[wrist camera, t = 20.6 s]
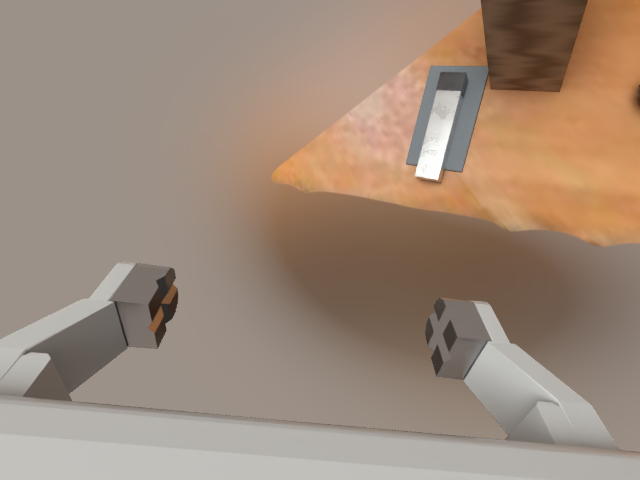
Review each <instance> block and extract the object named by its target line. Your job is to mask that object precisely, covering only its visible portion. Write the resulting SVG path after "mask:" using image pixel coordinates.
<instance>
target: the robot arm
mask: <svg viewBox="0 0 640 480" xmlns="http://www.w3.org/2000/svg"><path fill="white" fill-rule="evenodd" d="M175 279H176V276H175V270H174V269H173V268H170V267H163V266H156V265H147V264H140V263H138V264H137V263H131V262H123V261H122V262H119V263H117V264H116V265H115V267H114V268H113V269H112V270H111V272H110V273H109V274H108V275H107V277H106V278H105V279H104V281H103V282H102V283H101V284H100V285H99V287H98V288H97V289H96V291H95V292H94V293H93V294H92V295H91V297H90V298H89V299H81V300H79V301H77V302H75V303H73V304H71V305H69V306H67V307H65V308H63V309H61V310H59V311H57V312H55V313H53V314H51V315H49V316H47V317H45V318H43V319H41V320H39V321H37V322H35V323H33V324H31V325H29V326H26V327H24V328H22V329H20V330H18V331H16V332H14V333H12V334H10V335H8V336H6V337H4V338H2V339H0V480H640V452H634V451H633V452H632V451H622V450H620V449H619V448H618V446H617V444H616V443H615V441H614V440H613V438H612V437H611V435H610V433H609V432H608V430H607V429H606V427H605V426H604V424H603V422H602V421H601V419H600V418H599V416H598V415H597V413H596V411H595V410H594V408H593V407H592V405H591V404H589V403H588V402H587V401H586V400H584V399H583V398H582V397H581V396H579V395H578V394H577V393H576V392H574V391H573V390H572V389H570V388H569V387H568V386H567V385H566V384H564V383H563V382H562V381H561V380H559V379H558V378H557V377H556V376H554V375H553V374H552V373H551V372H549V371H548V370H547V369H546V368H544V367H543V366H542V365H541V364H539V363H538V362H537V361H536V360H534V359H533V358H532V357H531V356H529V355H528V354H527V353H525V352H524V351H523V350H522V349H521V348H519V347H518V346H517V345H515V344H510V342H509V340H508V338H507V336H506V334H505V332H504V330H503V329H502V327H501V325H500V323H499V321H498V319H497V317H496V315H495V314H494V311H493V310H492V308H491V306H490V305H489V304H488V303H487V302H480V301H467V300H458V299H449V298H438V299H437V300H436V302H435V304H434V309H435V313H433V314H432V315H430V316H429V318H428V320H427V323H426V330H425V335H426V341H427V345H428V346H429V347H430V348H431V349H432V350H433V351H434V353H433V355H432V357H431V359H432V363H433V366H434V370H435V373H436V376H437V377H445V378H453V379H461V380H464V383H465V384H466V385H467V386H468V387H469V389H470V390H471V391H472V392H473V393H474V394H475V396H476V397H477V398H478V399H479V401H480V402H481V403H482V404H483V405H484V407H485V408H486V409H487V410H488V411H489V412H490V414H491V415H492V416H493V417H494V418H495V420H496V421H497V422H498V423H499V424H500V426H501V427H502V428H503V429H504V430H505V432H506V433H507V434H508V437H507V438H506V439H505V440H499V439H488V438H477V437H466V436H454V435H443V434H432V433H421V432H408V431H399V430H387V429H375V428H365V427H354V426H342V425H331V424H320V423H308V422H297V421H286V420H275V419H264V418H252V417H242V416H231V415H219V414H209V413H197V412H187V411H175V410H163V409H154V408H142V407H130V406H120V405H109V404H98V403H86V402H75V401H72V400H71V398H70V396H69V394H70V393H71V392H72V391H73V390H75V389H76V388H77V387H79V386H80V385H81V384H82V383H84V382H85V381H86V380H88V379H89V378H90V377H91V376H93V375H94V374H95V373H96V372H98V371H99V370H100V369H102V368H103V367H104V366H105V365H107V364H108V363H109V362H110V361H112V360H113V359H114V358H116V357H117V356H118V355H120V353H122V352H123V351H125V350H126V349H127V347H139V348H154V349H158V347H159V345H160V343H161V341H162V339H163V337H164V335H165V332H166V325H165V323H167V322H168V321H170V320H171V319H172V318H173V316H174V314H175V312H176V308H177V304H178V289H177V288H176V287H175V286H174V285H173V282H174V281H175Z"/></svg>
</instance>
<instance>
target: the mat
mask: <svg viewBox="0 0 640 480" xmlns="http://www.w3.org/2000/svg"><path fill="white" fill-rule="evenodd" d="M440 72H466V73H467V78H468V84H467V87H466V91H465V95H464V98H463V100H462V104H461V108H460V112H459V115H458V119H457V123H456V127H455V131H454V134H453V138H452V142H451V146H450V150H449V153H448V157H447V161H446V165H445V169H444V170H450V171H457V172H462V170H463V167H464V163H465V159H466V156H467V152H468V148H469V144H470V141H471V137H472V133H473V129H474V126H475V122H476V118H477V115H478V111H479V107H480V103H481V100H482V96H483V92H484V89H485V85H486V81H487V77H488V74H489V69H488V67H486V66H431V67H430V71H429V75H428V79H427V83H426V87H425V90H424V94H423V98H422V102H421V106H420V110H419V114H418V118H417V122H416V126H415V130H414V134H413V138H412V141H411V145H410V149H409V153H408V157H407V161H406V164H409V165H416V166H417V165H418V161H419V158H420V154H421V150H422V146H423V142H424V138H425V134H426V130H427V126H428V123H429V119H430V115H431V111H432V107H433V103H434V99H435V95H436V91H437V90H436V88H437V84H438V80H439V76H440Z"/></svg>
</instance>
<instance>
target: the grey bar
mask: <svg viewBox="0 0 640 480" xmlns="http://www.w3.org/2000/svg"><path fill="white" fill-rule="evenodd" d="M467 84H468V78H467V73H466V72H440V76H439V80H438V84H437V88H436V90H437V91H436V95H435V99H434V103H433V107H432V111H431V115H430V119H429V123H428V126H427V130H426V134H425V138H424V142H423V146H422V150H421V154H420V158H419V161H418V165H417V169H416V173H415V177H417V178H418V179H421V180H427V181H433V182H439V183H441V180H442V176H443V172H444V169H445V165H446V161H447V157H448V153H449V150H450V146H451V142H452V138H453V134H454V131H455V127H456V123H457V119H458V115H459V112H460V108H461V104H462V100H463V98H464V95H465V91H466V87H467Z"/></svg>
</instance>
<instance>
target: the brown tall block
mask: <svg viewBox="0 0 640 480" xmlns="http://www.w3.org/2000/svg"><path fill="white" fill-rule="evenodd" d="M587 1H588V0H481V5H482V15H483V24H484V33H485V42H486V51H487V60H488V69H489V78H490V87H491V89H500V90H525V91H550V92H560V88H561V85H562V82H563V79H564V75H565V72H566V69H567V66H568V62H569V59H570V56H571V53H572V50H573V46H574V43H575V40H576V37H577V33H578V30H579V27H580V24H581V20H582V17H583V14H584V11H585V8H586V4H587Z"/></svg>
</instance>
